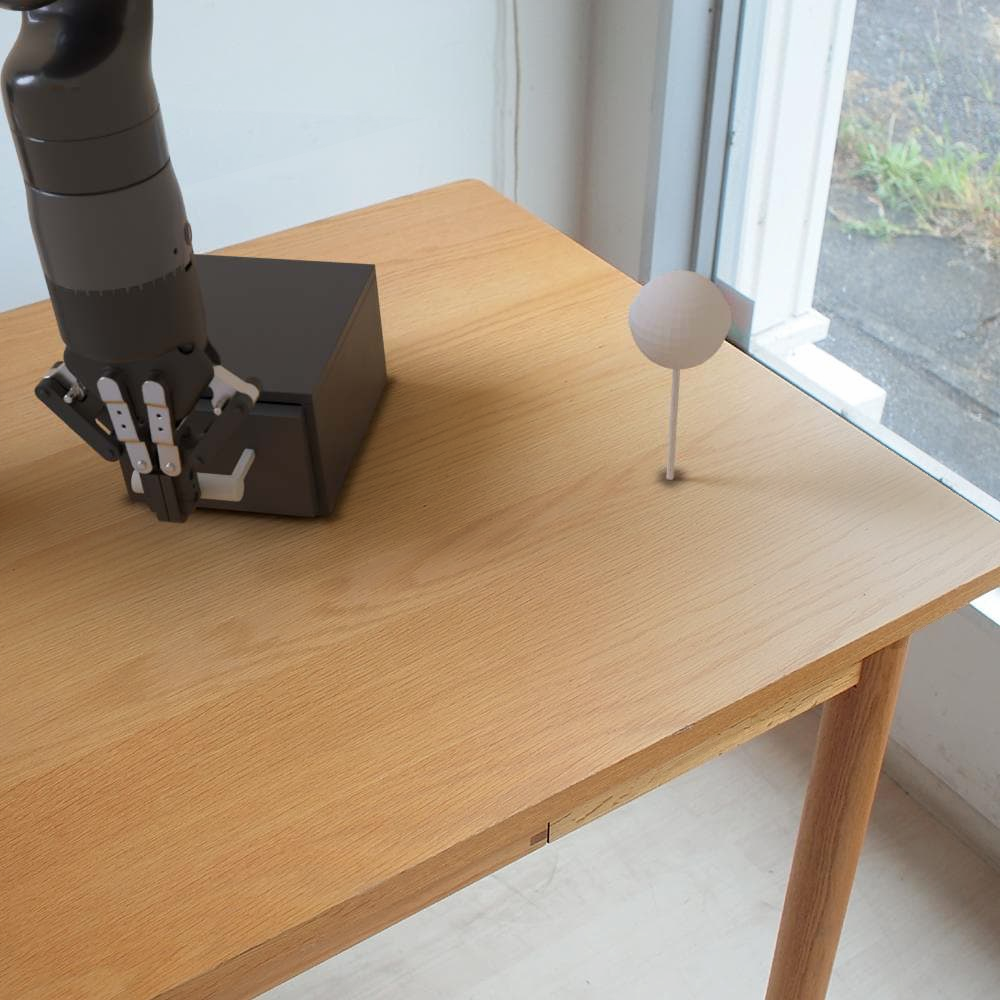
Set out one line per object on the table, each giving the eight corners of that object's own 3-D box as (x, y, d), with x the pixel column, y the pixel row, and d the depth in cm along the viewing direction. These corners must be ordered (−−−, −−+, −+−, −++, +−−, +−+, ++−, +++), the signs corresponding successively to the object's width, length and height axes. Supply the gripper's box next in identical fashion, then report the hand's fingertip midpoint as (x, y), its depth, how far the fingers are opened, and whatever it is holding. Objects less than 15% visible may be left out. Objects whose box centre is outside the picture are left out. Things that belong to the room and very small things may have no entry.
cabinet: (330, 516, 85) (311, 394, 79) (131, 499, 87) (97, 378, 81) (387, 379, 97) (375, 263, 90) (211, 367, 99) (187, 253, 93)
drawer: (295, 562, 80) (276, 461, 75) (103, 544, 82) (73, 444, 77) (370, 387, 94) (359, 292, 89) (206, 375, 96) (186, 281, 91)
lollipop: (613, 497, 85) (618, 295, 76) (633, 444, 90) (640, 246, 80) (708, 513, 84) (726, 309, 74) (724, 458, 88) (743, 258, 78)
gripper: (-41, 276, 65) (45, 544, 76) (214, 293, 63) (265, 566, 74) (28, 208, 71) (98, 466, 82) (264, 222, 69) (304, 485, 80)
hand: (177, 513), depth 78 cm, fingers closed
